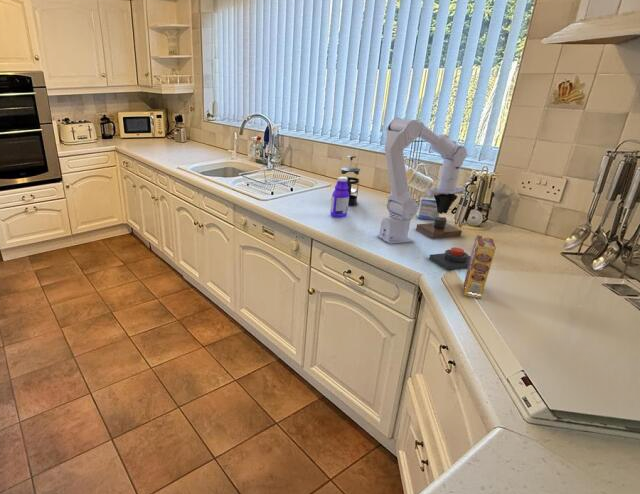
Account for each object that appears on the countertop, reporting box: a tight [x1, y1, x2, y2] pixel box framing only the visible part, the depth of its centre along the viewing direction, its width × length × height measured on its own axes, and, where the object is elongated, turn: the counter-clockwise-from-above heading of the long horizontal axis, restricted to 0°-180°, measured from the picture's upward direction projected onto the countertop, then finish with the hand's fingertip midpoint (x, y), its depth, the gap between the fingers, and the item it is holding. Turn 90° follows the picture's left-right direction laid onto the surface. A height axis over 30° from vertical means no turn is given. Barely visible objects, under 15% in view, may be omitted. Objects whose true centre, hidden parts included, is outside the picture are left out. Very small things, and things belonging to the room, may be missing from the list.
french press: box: [340, 155, 361, 207], centre depth 188 cm, size 12×9×23 cm
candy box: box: [463, 235, 496, 300], centre depth 109 cm, size 9×4×15 cm, turn 152°
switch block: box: [428, 249, 471, 272], centre depth 128 cm, size 12×9×4 cm
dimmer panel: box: [415, 222, 463, 240], centre depth 153 cm, size 12×10×3 cm
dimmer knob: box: [433, 216, 447, 229], centre depth 152 cm, size 4×4×4 cm
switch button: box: [450, 246, 465, 256], centre depth 127 cm, size 4×4×2 cm
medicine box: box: [416, 196, 440, 221], centre depth 169 cm, size 8×4×9 cm, turn 68°
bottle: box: [329, 176, 349, 219], centre depth 171 cm, size 7×6×17 cm
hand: (441, 212), depth 150 cm, fingers closed
